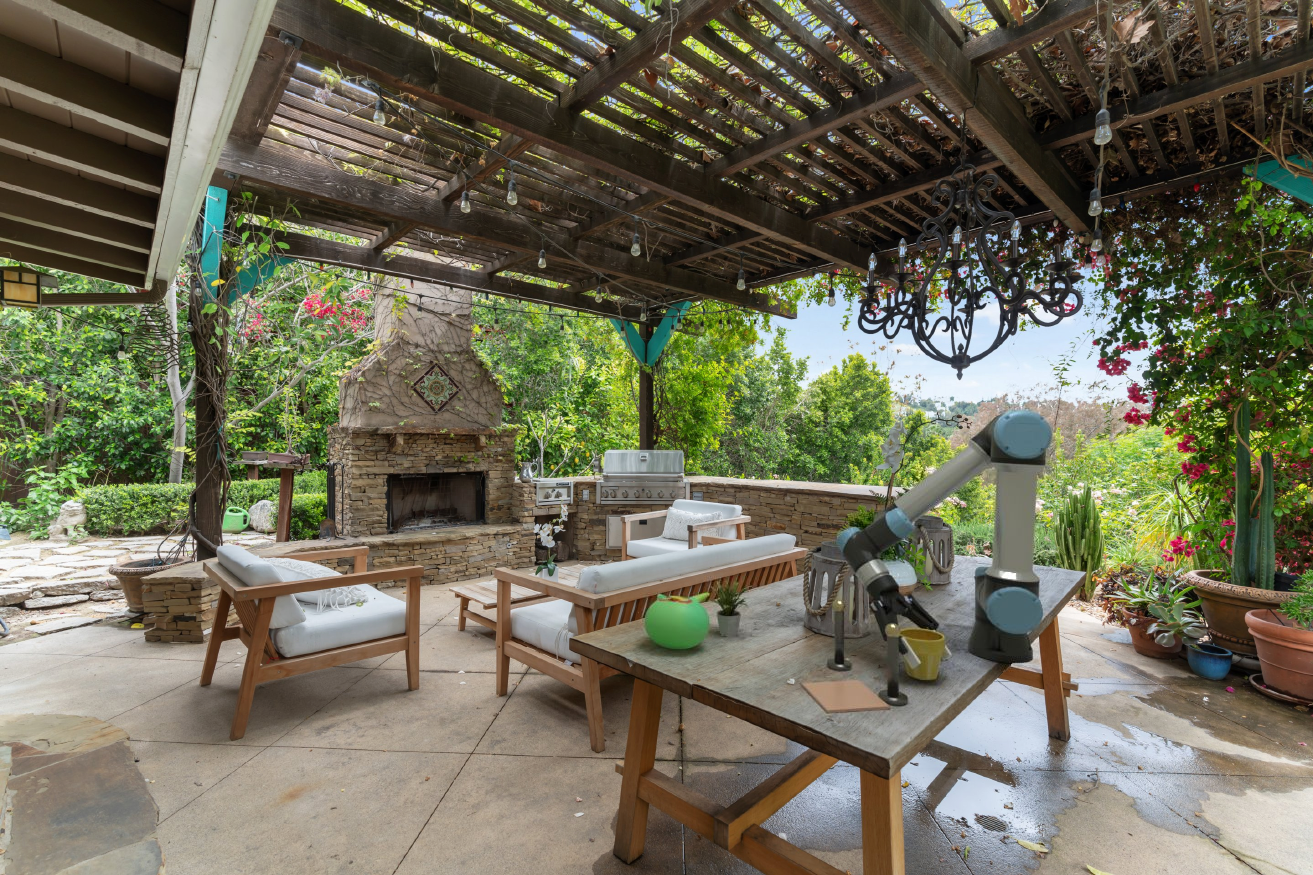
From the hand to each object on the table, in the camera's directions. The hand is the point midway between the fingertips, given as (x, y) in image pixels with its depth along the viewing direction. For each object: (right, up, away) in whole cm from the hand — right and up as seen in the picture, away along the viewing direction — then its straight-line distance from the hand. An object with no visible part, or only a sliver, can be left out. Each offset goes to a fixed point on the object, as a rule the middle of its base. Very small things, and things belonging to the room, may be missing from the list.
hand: (932, 661), depth 139 cm
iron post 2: (-13, -5, -9) cm, 17 cm away
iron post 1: (-19, -5, +10) cm, 22 cm away
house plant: (-43, -6, +34) cm, 55 cm away
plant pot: (-1, -4, +3) cm, 5 cm away
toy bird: (-59, -5, +25) cm, 64 cm away
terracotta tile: (-23, -5, -8) cm, 25 cm away
